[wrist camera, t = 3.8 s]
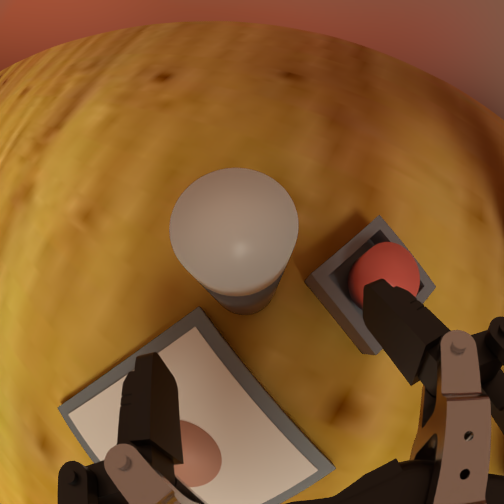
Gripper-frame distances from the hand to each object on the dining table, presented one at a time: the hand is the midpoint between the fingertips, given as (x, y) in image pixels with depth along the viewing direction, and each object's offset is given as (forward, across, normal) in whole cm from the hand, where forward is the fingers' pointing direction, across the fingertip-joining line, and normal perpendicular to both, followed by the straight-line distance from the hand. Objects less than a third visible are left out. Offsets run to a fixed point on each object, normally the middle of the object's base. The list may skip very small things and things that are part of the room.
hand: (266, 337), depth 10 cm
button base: (+7, -9, +6) cm, 13 cm away
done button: (+6, -9, +5) cm, 12 cm away
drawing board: (+2, +8, +12) cm, 14 cm away
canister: (+9, 0, +4) cm, 10 cm away
